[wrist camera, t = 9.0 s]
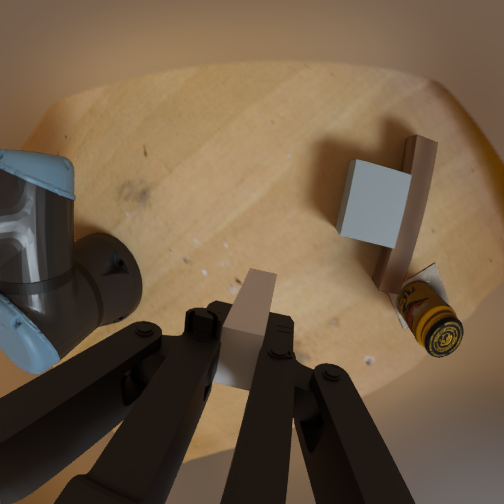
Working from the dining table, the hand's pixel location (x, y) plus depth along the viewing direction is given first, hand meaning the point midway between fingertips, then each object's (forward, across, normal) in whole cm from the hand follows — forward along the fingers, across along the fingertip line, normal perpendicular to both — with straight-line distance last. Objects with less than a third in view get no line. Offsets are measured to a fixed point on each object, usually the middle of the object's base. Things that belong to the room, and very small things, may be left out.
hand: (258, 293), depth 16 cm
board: (+23, +16, +5) cm, 28 cm away
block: (+23, +11, +6) cm, 26 cm away
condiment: (+23, +23, -6) cm, 33 cm away
